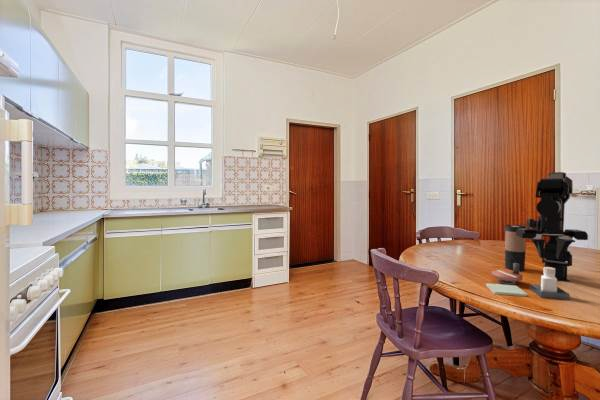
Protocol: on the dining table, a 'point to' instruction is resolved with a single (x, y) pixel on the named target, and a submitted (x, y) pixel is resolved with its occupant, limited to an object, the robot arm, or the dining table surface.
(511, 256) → the travel mug
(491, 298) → the dining table surface
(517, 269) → the handwheel
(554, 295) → the dark grey square frame
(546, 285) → the pepper shaker
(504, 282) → the wheel post
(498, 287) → the board
